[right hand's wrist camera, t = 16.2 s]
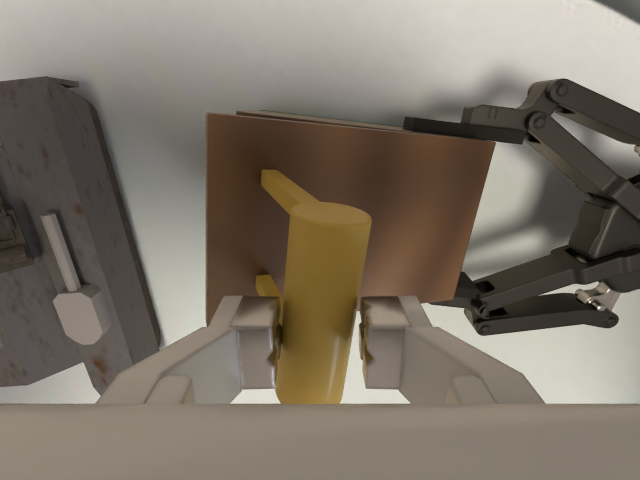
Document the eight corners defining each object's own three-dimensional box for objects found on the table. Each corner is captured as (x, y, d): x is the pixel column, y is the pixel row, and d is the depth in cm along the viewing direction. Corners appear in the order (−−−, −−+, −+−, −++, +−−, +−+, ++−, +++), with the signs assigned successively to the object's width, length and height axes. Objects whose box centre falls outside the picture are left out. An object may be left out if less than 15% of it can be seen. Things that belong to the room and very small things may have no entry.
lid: (205, 320, 17) (232, 486, 10) (205, 111, 14) (245, 134, 7) (444, 293, 23) (573, 388, 16) (484, 140, 20) (671, 169, 12)
